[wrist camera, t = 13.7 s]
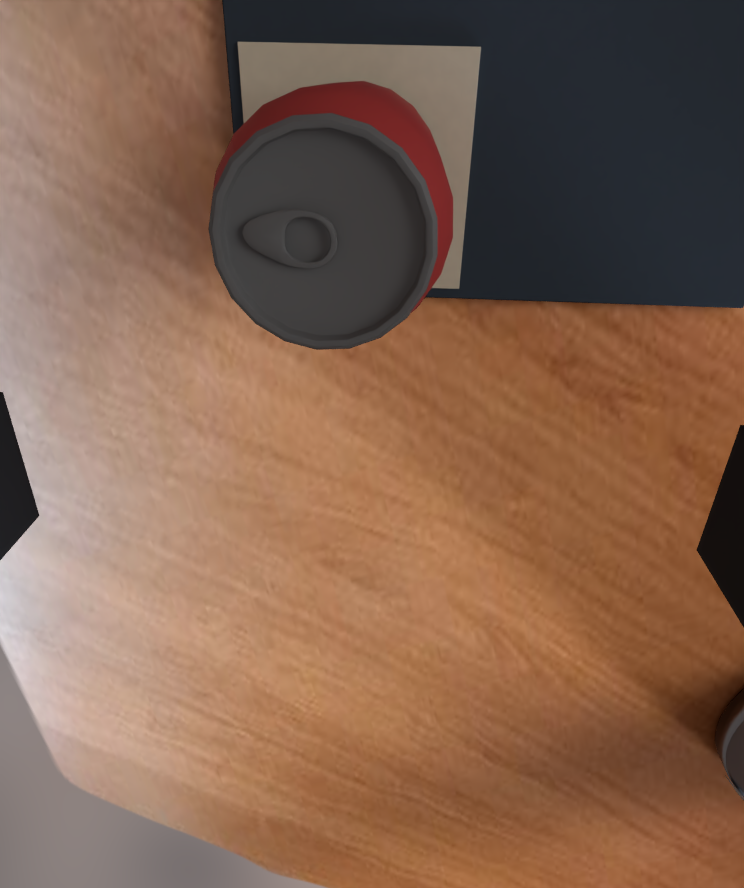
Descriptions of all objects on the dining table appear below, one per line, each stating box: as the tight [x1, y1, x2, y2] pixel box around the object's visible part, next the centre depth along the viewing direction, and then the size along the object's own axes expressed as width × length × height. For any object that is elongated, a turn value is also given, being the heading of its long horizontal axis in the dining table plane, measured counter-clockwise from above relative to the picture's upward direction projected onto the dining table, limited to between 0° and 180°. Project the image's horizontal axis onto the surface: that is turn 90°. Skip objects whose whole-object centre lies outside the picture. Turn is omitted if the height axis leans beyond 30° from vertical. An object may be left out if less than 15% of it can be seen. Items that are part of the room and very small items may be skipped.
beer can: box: [209, 81, 453, 350], centre depth 20 cm, size 7×7×12 cm
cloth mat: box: [222, 0, 744, 308], centre depth 24 cm, size 22×16×1 cm
